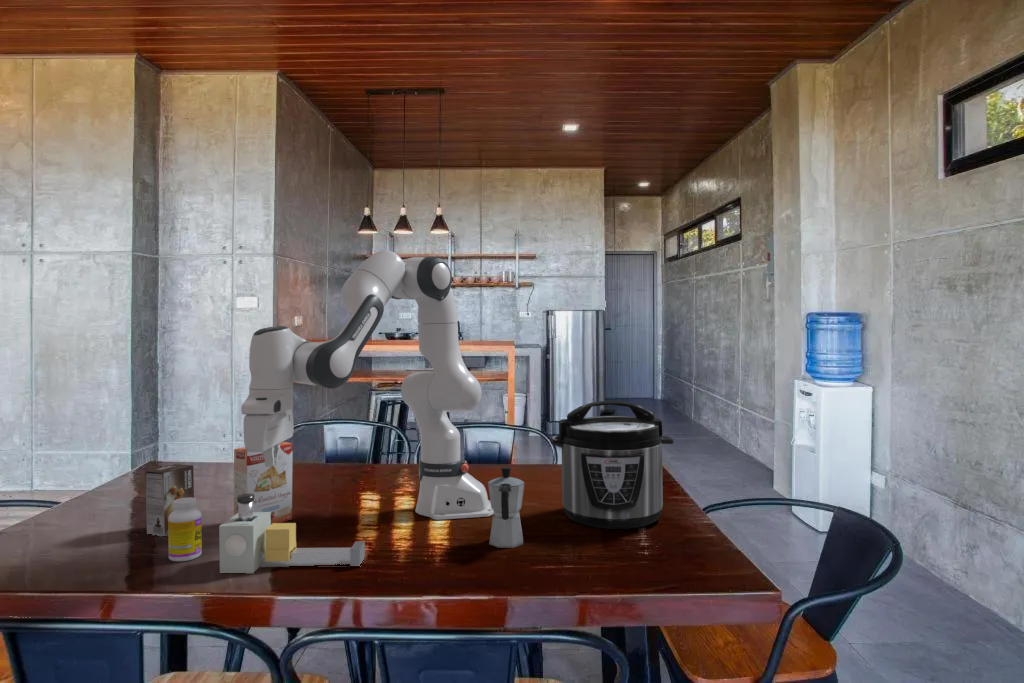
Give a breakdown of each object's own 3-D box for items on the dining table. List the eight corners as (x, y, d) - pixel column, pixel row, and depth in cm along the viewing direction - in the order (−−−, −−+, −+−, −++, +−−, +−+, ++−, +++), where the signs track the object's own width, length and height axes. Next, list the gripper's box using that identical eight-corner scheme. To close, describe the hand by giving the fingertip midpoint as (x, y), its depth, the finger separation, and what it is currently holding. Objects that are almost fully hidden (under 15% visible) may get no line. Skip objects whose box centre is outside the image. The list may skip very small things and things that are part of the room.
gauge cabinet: (270, 556, 140) (270, 511, 140) (252, 574, 130) (252, 526, 130) (239, 556, 140) (239, 512, 140) (218, 574, 130) (218, 526, 129)
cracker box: (247, 534, 156) (246, 450, 155) (232, 530, 159) (232, 448, 158) (294, 519, 167) (293, 442, 167) (279, 516, 171) (278, 440, 170)
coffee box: (176, 524, 164) (176, 463, 164) (195, 526, 162) (194, 464, 161) (145, 534, 155) (144, 470, 155) (164, 537, 153) (163, 472, 153)
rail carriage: (296, 552, 138) (296, 522, 138) (288, 561, 133) (288, 529, 133) (273, 552, 138) (273, 522, 138) (265, 561, 133) (264, 530, 133)
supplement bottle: (198, 560, 138) (198, 502, 137) (165, 564, 136) (164, 505, 136) (204, 550, 144) (203, 495, 144) (172, 553, 142) (171, 497, 142)
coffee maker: (489, 533, 156) (489, 461, 156) (524, 533, 156) (524, 461, 156) (485, 554, 141) (485, 475, 141) (524, 554, 141) (524, 475, 141)
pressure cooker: (535, 520, 167) (535, 401, 167) (587, 497, 190) (587, 393, 189) (639, 542, 149) (639, 410, 149) (682, 514, 172) (683, 399, 172)
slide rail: (364, 559, 138) (364, 541, 138) (359, 567, 133) (359, 549, 133) (264, 560, 138) (264, 542, 138) (255, 568, 133) (255, 550, 133)
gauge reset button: (256, 525, 137) (256, 493, 137) (250, 530, 133) (250, 497, 133) (241, 525, 137) (241, 493, 137) (234, 530, 133) (234, 497, 133)
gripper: (273, 396, 145) (273, 456, 145) (237, 406, 124) (237, 476, 125) (300, 396, 145) (300, 456, 145) (269, 406, 125) (269, 476, 125)
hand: (271, 465), depth 135 cm, fingers closed
